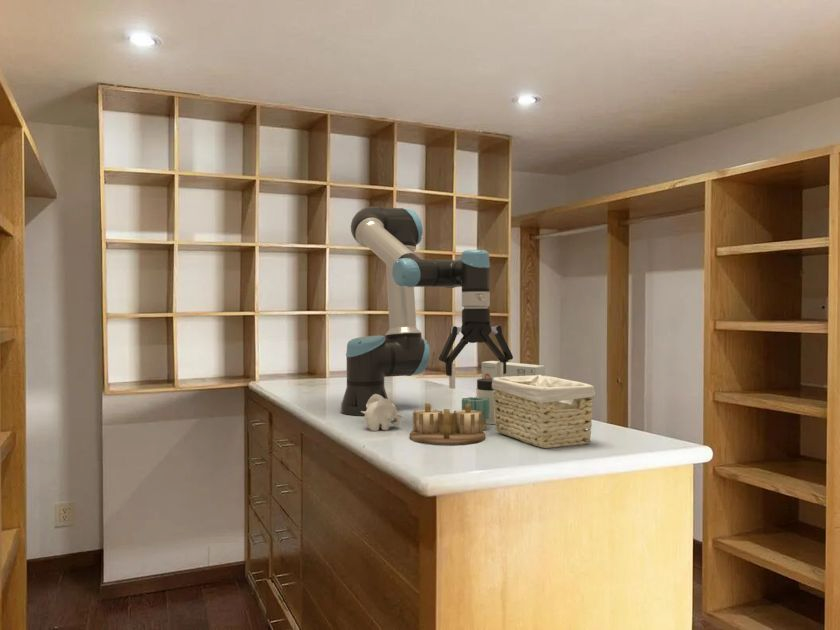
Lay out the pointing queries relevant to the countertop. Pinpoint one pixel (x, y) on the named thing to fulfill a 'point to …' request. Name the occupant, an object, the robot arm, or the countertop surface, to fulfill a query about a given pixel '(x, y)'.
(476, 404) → the gear
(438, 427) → the carrier
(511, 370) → the skincare box
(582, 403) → the storage basket
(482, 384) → the jar
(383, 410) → the elephant figurine
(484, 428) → the stand
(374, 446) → the countertop surface
